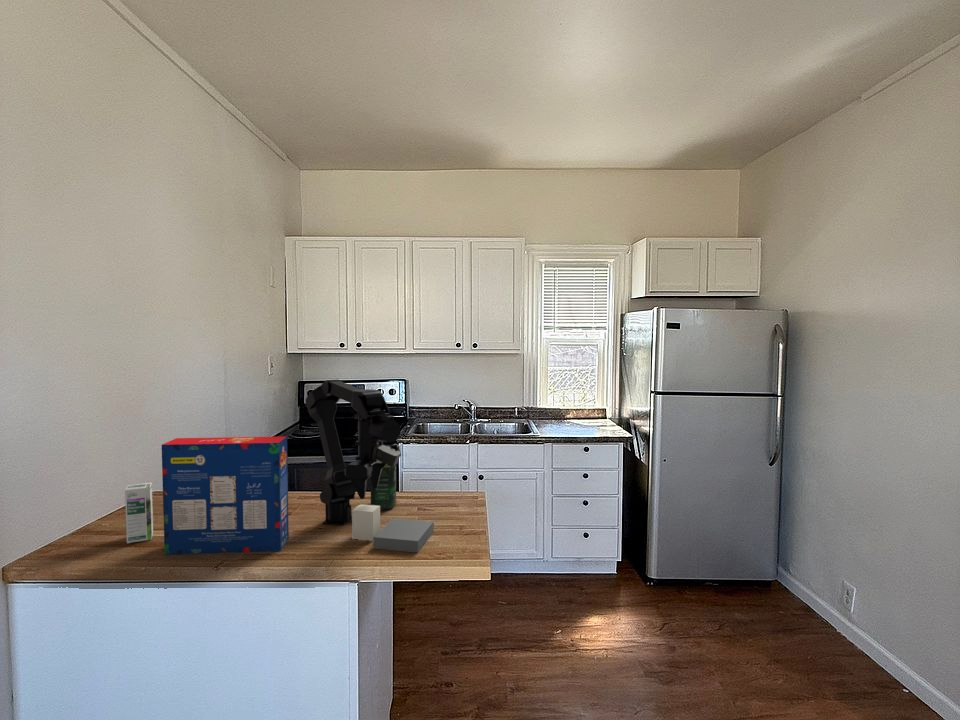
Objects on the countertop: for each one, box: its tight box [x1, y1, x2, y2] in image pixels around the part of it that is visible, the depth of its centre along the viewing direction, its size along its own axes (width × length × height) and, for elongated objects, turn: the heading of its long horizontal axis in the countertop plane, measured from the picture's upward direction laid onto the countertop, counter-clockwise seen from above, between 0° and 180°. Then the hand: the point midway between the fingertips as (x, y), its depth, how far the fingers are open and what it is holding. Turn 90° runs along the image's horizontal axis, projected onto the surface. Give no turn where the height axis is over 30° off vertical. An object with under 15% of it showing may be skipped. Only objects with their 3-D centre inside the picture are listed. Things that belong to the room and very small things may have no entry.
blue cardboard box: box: [161, 435, 290, 556], centre depth 136 cm, size 28×8×28 cm, turn 96°
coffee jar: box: [370, 464, 397, 511], centre depth 169 cm, size 10×8×19 cm
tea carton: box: [351, 504, 381, 542], centre depth 144 cm, size 6×5×8 cm
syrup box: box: [124, 481, 154, 544], centre depth 142 cm, size 6×6×14 cm
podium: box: [372, 518, 435, 554], centre depth 142 cm, size 12×14×3 cm
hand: (368, 493), depth 144 cm, fingers open, 9 cm apart
